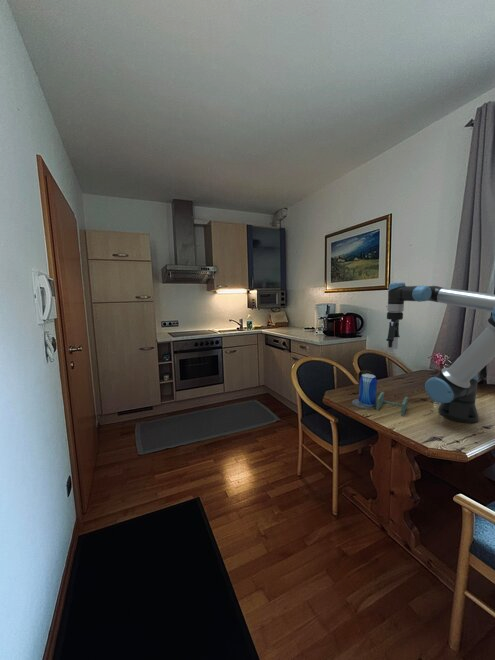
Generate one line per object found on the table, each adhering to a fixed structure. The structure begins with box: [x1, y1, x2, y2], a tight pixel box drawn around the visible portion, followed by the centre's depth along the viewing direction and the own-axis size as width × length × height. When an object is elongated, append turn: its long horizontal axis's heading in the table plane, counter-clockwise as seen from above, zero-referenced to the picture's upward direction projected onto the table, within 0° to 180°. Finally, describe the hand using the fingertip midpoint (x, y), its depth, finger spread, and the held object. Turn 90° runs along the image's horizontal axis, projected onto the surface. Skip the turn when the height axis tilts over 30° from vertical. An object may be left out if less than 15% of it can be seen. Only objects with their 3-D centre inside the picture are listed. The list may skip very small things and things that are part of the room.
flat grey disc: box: [351, 398, 377, 410], centre depth 141 cm, size 12×12×1 cm
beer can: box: [358, 374, 378, 407], centre depth 139 cm, size 8×8×16 cm
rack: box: [375, 391, 409, 417], centre depth 135 cm, size 12×13×6 cm
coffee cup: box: [358, 370, 374, 386], centre depth 157 cm, size 9×8×13 cm
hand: (392, 350), depth 141 cm, fingers open, 13 cm apart
